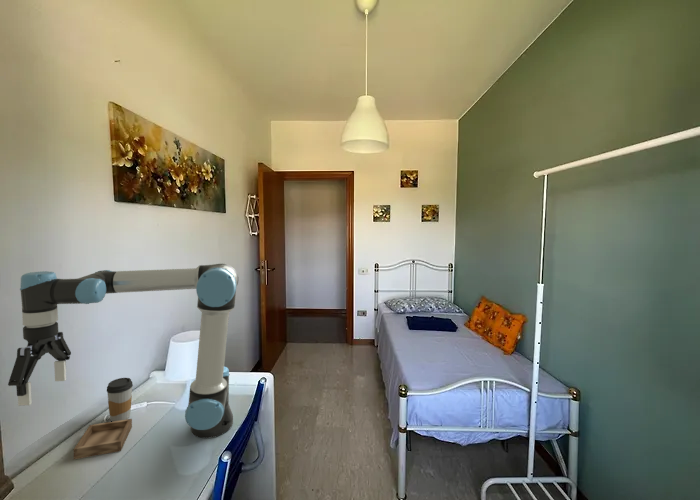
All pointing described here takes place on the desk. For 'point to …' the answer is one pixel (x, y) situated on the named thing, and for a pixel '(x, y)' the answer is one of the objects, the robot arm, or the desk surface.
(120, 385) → the coffee cup
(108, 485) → the desk surface
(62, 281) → the robot arm
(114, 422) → the tray
